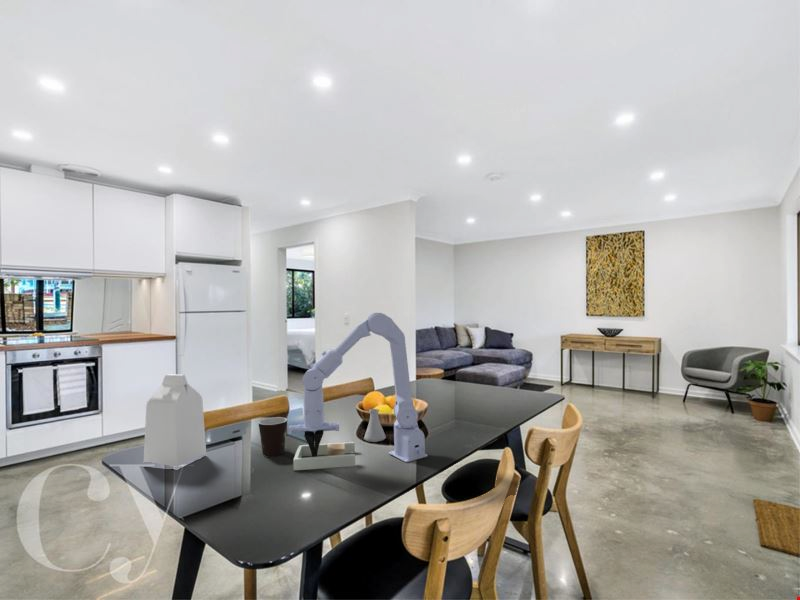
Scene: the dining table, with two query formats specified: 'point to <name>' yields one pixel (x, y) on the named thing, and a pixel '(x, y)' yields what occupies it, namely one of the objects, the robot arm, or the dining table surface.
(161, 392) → the milk
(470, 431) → the dining table surface
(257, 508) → the dining table surface
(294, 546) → the dining table surface
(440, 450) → the dining table surface
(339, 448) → the oak block
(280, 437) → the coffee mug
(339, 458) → the white tray
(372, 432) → the flask
